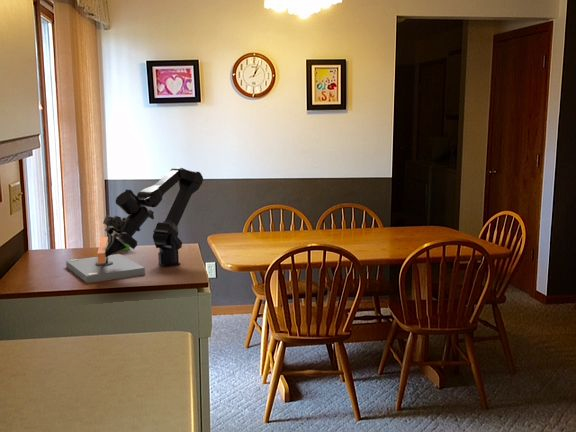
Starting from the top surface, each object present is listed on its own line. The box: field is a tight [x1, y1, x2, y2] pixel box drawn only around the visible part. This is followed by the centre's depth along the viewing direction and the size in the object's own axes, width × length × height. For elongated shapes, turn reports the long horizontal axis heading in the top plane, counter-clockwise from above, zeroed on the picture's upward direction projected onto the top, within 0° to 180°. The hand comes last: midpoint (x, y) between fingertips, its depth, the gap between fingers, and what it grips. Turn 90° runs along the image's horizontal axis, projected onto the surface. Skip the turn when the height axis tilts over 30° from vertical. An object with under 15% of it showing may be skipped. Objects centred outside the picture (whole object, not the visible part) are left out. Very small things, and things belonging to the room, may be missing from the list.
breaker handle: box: [97, 236, 109, 264], centre depth 220 cm, size 3×30×7 cm, turn 14°
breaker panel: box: [65, 253, 146, 284], centre depth 221 cm, size 20×28×3 cm
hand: (104, 256), depth 209 cm, fingers closed, pressing on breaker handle
